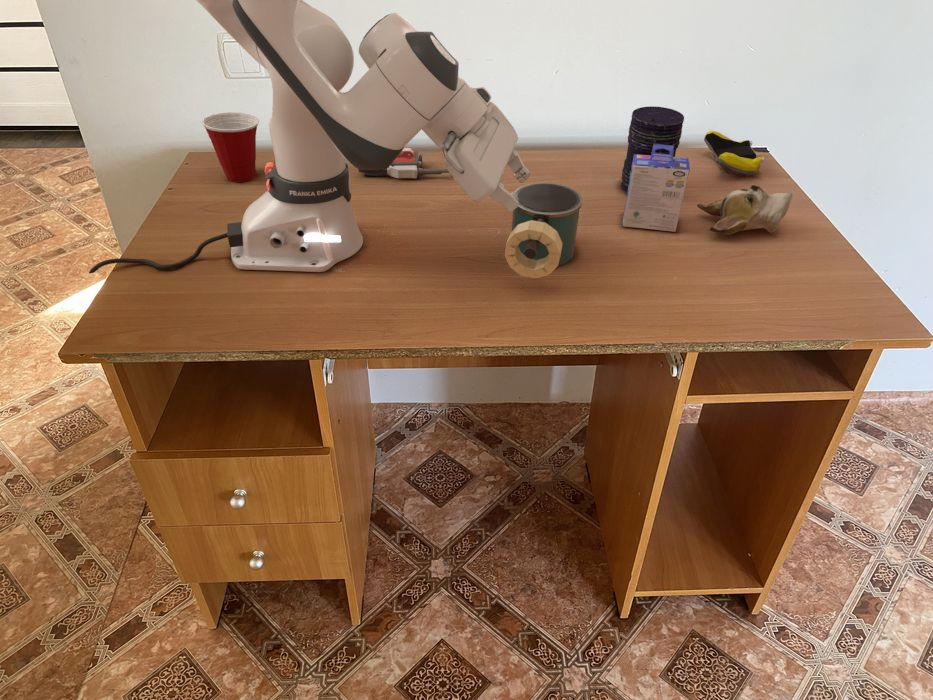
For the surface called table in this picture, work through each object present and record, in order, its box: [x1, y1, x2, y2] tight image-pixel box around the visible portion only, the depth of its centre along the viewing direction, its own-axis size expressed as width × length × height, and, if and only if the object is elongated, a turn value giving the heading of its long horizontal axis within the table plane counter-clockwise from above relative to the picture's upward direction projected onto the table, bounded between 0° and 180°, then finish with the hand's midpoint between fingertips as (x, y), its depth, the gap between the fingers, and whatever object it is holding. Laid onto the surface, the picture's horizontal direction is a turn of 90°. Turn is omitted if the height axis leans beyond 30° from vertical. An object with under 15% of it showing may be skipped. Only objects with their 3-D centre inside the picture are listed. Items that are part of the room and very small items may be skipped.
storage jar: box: [619, 106, 685, 195], centre depth 134 cm, size 10×10×15 cm
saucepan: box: [511, 182, 583, 266], centre depth 112 cm, size 22×12×10 cm, turn 166°
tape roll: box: [504, 220, 563, 279], centre depth 106 cm, size 8×3×8 cm, turn 76°
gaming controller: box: [703, 130, 765, 178], centre depth 145 cm, size 15×6×10 cm
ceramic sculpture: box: [696, 184, 793, 236], centre depth 123 cm, size 11×9×15 cm
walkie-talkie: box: [357, 146, 450, 179], centre depth 142 cm, size 9×4×20 cm
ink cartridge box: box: [622, 144, 691, 233], centre depth 123 cm, size 10×6×14 cm, turn 78°
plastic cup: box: [201, 111, 260, 183], centre depth 138 cm, size 11×11×12 cm
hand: (521, 192), depth 101 cm, fingers open, 8 cm apart
